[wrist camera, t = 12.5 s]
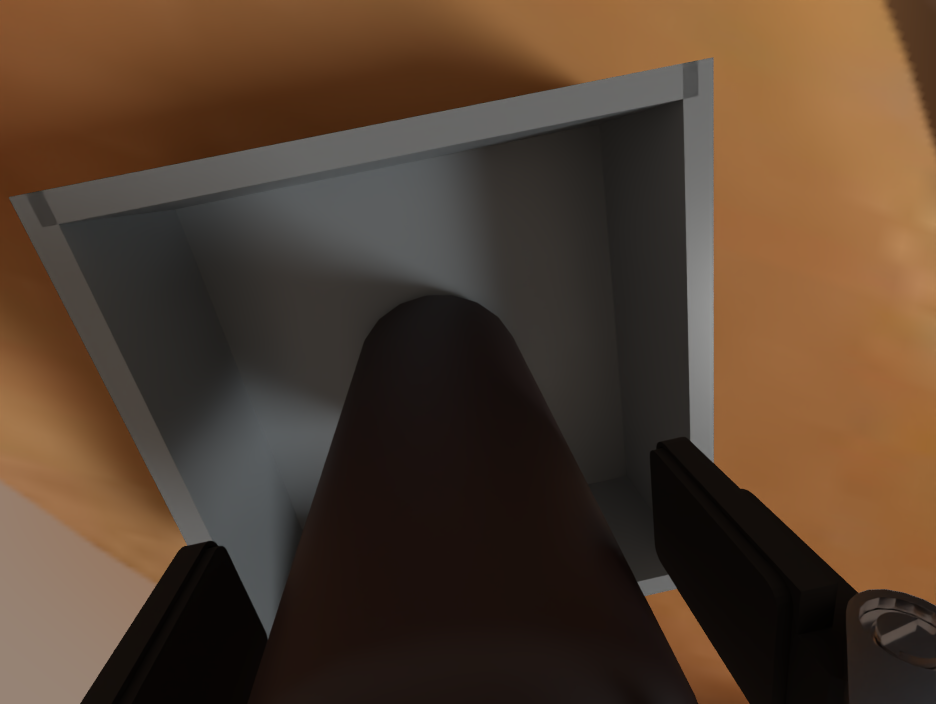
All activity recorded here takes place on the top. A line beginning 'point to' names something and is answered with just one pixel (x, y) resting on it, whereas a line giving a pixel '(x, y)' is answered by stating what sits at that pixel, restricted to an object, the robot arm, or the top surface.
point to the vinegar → (458, 542)
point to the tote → (401, 293)
